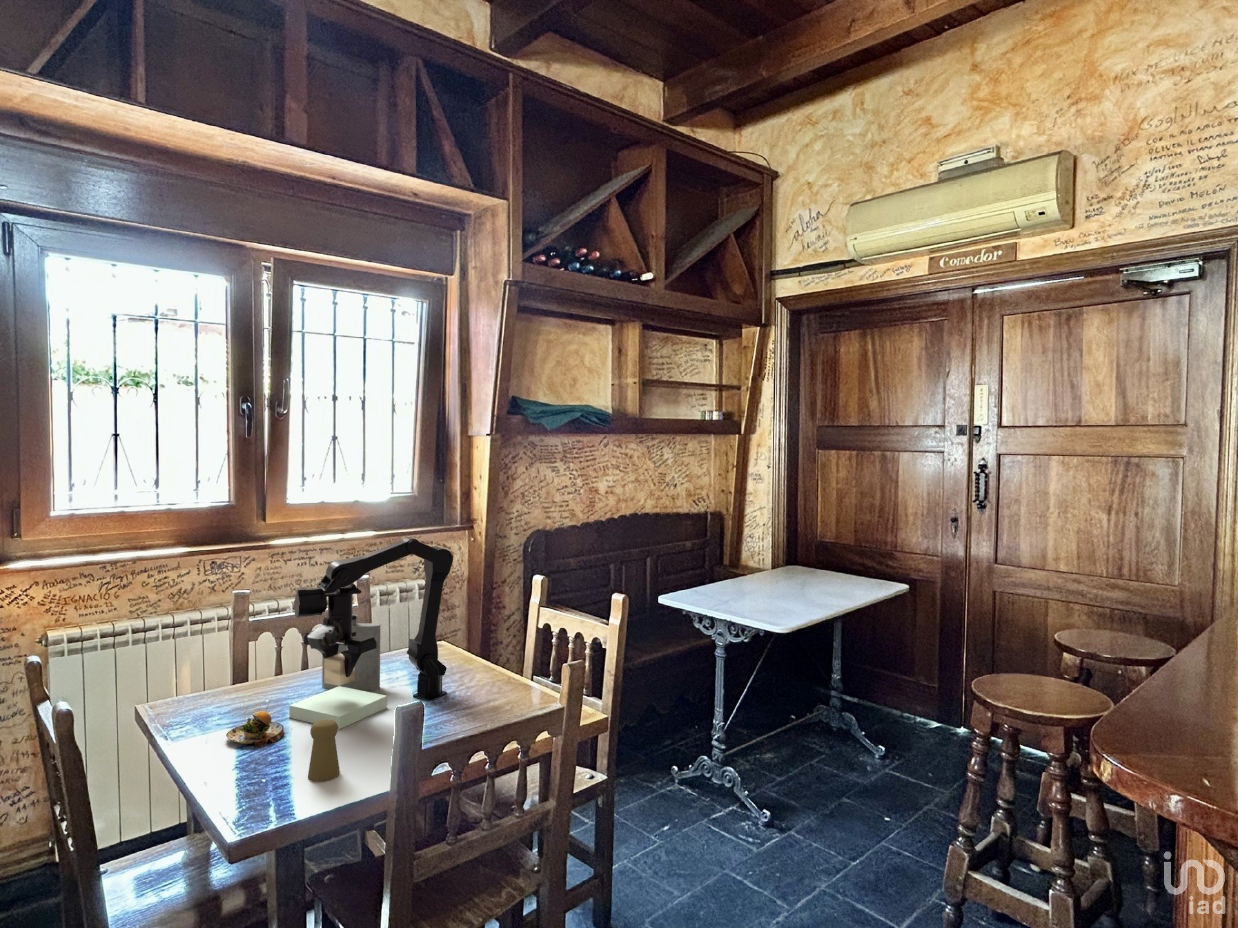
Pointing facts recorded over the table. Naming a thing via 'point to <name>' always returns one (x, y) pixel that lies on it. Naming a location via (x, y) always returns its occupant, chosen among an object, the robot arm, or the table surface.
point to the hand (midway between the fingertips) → (339, 674)
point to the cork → (324, 751)
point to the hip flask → (362, 660)
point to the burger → (257, 730)
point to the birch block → (336, 671)
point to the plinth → (338, 706)
